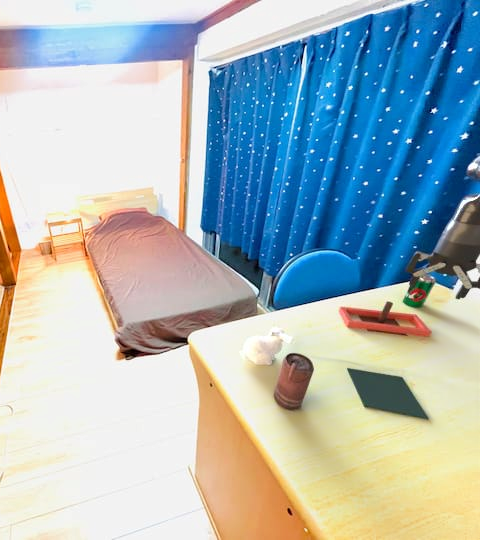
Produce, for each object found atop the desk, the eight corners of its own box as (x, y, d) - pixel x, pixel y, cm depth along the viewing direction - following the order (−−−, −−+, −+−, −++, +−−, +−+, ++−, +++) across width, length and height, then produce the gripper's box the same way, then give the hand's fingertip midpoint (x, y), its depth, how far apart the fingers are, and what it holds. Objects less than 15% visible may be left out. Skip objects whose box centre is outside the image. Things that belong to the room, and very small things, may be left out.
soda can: (425, 310, 94) (441, 280, 89) (407, 310, 95) (423, 280, 90) (413, 302, 99) (428, 272, 93) (397, 301, 100) (411, 272, 94)
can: (269, 402, 70) (279, 363, 64) (278, 386, 74) (289, 347, 67) (295, 417, 66) (310, 377, 60) (304, 399, 70) (318, 360, 63)
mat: (401, 377, 73) (402, 376, 73) (428, 419, 63) (429, 418, 63) (346, 368, 77) (347, 367, 77) (364, 406, 67) (364, 405, 67)
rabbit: (271, 345, 87) (279, 315, 81) (291, 369, 78) (300, 337, 73) (234, 351, 86) (239, 321, 80) (249, 375, 78) (256, 343, 72)
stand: (390, 318, 93) (402, 295, 88) (406, 338, 84) (419, 315, 80) (354, 314, 96) (363, 292, 91) (366, 333, 88) (376, 310, 83)
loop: (338, 311, 96) (340, 306, 95) (413, 319, 90) (416, 314, 89) (346, 326, 89) (348, 321, 88) (429, 336, 83) (432, 331, 82)
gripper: (509, 239, 66) (473, 295, 74) (425, 227, 76) (401, 278, 83) (511, 250, 62) (473, 308, 70) (421, 236, 71) (396, 288, 79)
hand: (434, 292), depth 76 cm, fingers open, 8 cm apart
